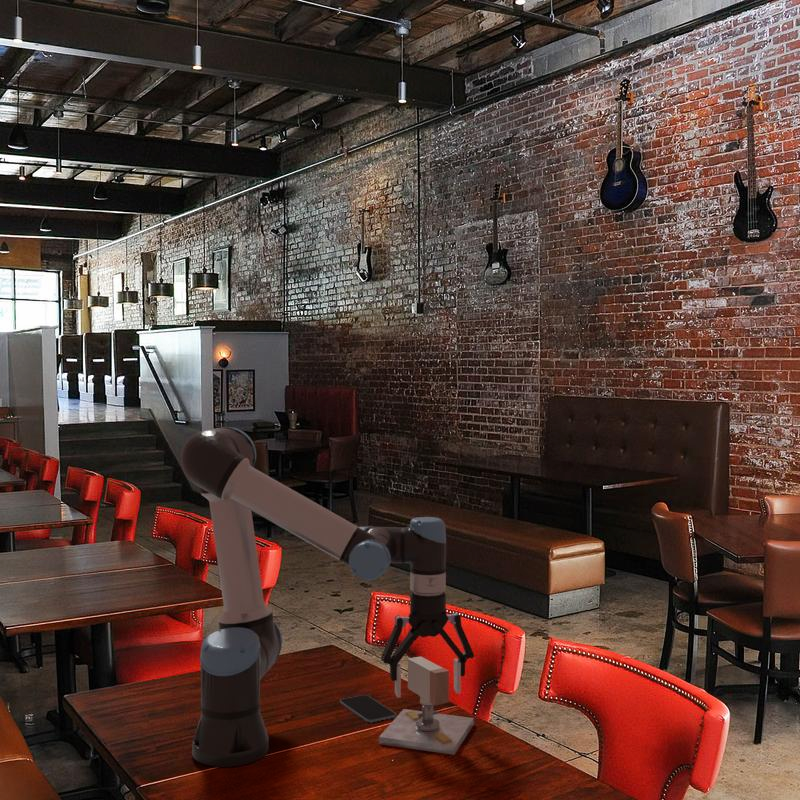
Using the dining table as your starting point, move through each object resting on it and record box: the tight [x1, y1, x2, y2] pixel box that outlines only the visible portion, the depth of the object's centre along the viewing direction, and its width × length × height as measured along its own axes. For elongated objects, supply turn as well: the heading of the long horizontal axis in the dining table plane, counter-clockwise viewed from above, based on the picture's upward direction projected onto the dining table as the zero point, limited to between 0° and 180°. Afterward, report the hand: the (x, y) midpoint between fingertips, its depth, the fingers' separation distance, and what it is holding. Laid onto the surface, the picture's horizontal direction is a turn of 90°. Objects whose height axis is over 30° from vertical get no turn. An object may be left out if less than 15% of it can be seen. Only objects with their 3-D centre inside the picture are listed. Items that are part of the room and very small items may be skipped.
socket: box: [378, 704, 475, 756], centre depth 186 cm, size 16×16×6 cm
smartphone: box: [339, 694, 397, 724], centre depth 200 cm, size 7×1×15 cm
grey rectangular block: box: [407, 655, 450, 706], centre depth 185 cm, size 11×3×8 cm, turn 31°
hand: (427, 693), depth 185 cm, fingers open, 12 cm apart
